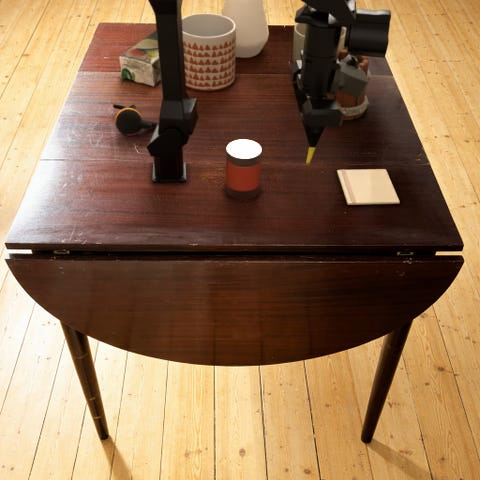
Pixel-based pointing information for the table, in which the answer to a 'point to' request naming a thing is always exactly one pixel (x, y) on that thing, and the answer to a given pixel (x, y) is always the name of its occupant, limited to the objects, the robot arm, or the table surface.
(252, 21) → the white rounded pot
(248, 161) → the can
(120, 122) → the character figurine
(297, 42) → the planter
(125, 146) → the table surface
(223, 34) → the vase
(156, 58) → the juice carton
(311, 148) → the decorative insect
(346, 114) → the mug
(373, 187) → the napkin
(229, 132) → the table surface
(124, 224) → the table surface
